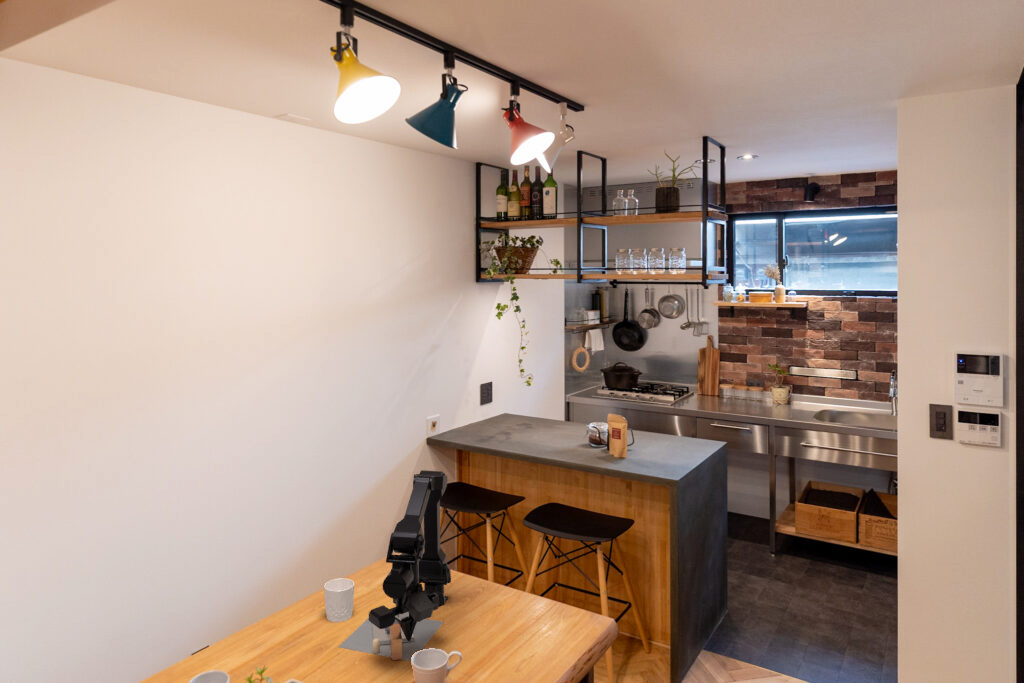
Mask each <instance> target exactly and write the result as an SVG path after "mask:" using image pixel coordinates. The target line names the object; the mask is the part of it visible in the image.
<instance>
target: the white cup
mask: <svg viewBox="0 0 1024 683" xmlns="http://www.w3.org/2000/svg"><path fill="white" fill-rule="evenodd" d="M323 590H324V605H325V606H324V607H325V614H326V615H325V616H326V619H327V620H328V622H333V623H343V622H346V621H348V620H350V619H351V618H352V617H353V609H354V599H355V598H354V597H355V596H354V595H355V581H354V580H352V579H350V578H345V577H344V578H343V577H341V578H334V579H333V578H332V579H331V580H327V582H325V584H324V586H323Z"/></svg>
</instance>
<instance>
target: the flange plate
mask: <svg viewBox="0 0 1024 683" xmlns="http://www.w3.org/2000/svg"><path fill="white" fill-rule="evenodd" d="M372 628H373V638H374V639H380V645H384V644H390V650H391V657H390V658H391V660H392V661H395V660H401V659H402V642H411V641H415V637H414V632H413V634H412V637H411V640H410V641H408V640H407V639H406V637H405V635H404V633H403V631H402V629H401V627H400V625H399V624H393V625H392V626H390V634H386V633H385V630H387V628H384V629H379V628H378V627H376V626H375V625H374V624H372Z"/></svg>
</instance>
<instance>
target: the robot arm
mask: <svg viewBox="0 0 1024 683" xmlns="http://www.w3.org/2000/svg"><path fill="white" fill-rule="evenodd" d="M412 479H413V481H412V490H411V493H410V497H409V500H408V504H407V506H406V510H405V513H404V516H403V518H402V519H401V520H399V521H398V522H397V523H396V524H395V527H394V530H393V532H392V533H391V534H390V538H389V543H388V547H387V552H386V554H387V555H386V558H385V563H388V564H391V568H390V571H389V573H388V574H387V575H386V576H385V578H384V579H383V582H382V590H383V592H384V595H386V596H387V597H388V598H390V599H392V603H393V604H394V605H395V606H394V607H391V608H389V607H387V606H385V605H384V604H383V605H380V606H377V607H375V608H372V609H370V611H369V612H368V618H369V621H370V622H371V623H372V624H374V625H375V626H376V627H378V628H379V629H384V628H387V627H389V626H392V625H393V624H394V622H395V620H397V621H398V623H399V625H400V627H401V629H402V631H403V633H404V635H405V637H406V639H407V640H408V641H410V640H411V637H412V634H413V631H414V628H415V626H416V623H417V622H420V621H422V620H424V619H430V618H432V616H433V612H434V611H436V610H438V609H439V608H440V607H442V606H445V605H446V602H447V601H448V599H449V596H447V595H445V586H448V584H451V582H452V571H451V569H450V565H449V563H447V554H446V553H445V552H444V550H443V549H442V547H441V499H442V497H443V495H444V494H445V491H446V489H447V487H448V476H447V475H446V473H444V471H442V470H441V471H440V470H427V469H426V470H425V469H424V470H423V469H422V470H420V472H419V473H416V474H413V478H412ZM422 524H423V529H422ZM393 553H396V554H393ZM423 586H424V587H423Z"/></svg>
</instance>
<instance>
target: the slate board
mask: <svg viewBox="0 0 1024 683" xmlns="http://www.w3.org/2000/svg"><path fill="white" fill-rule="evenodd" d="M444 622H445V621H441V620H435V619H430V618H426V619H424V620H422V621H420V622H417V623H416V626H415V628H414V631H413V632H414V637H415V641H411V642H402V659H400V660H402V661H408V662H411V657H412V655H413V654H414V653H415V652H417V651H419V650H421V649H424V648H425V647H426V645H427V644H428V642H430V640H431V639H432V638H433V636H434V635H435V634H436V632H437V631H439V629H440V628H441V627H442V625H443V624H444ZM394 624H399V623H398V621H397V620H395V622H394ZM385 633H386V634H390V626H389V627H387V630H385ZM338 648H341V649H345V650H350V651H357V652H361V653H364V654H365V653H366V654H372V655H377V656H380V657H387V658H391V650H390V644H384V645H380V639H374V638H373V628H372V623H371V622H370V621H369V617H368V618H367V619H366V620H365V621H364V622H362V623H361V624H360V625H359V626H358V627H357V628H356V629H355V630H354V631H353V632H352V633H351V634H350V635H349V636H348V637H347V638H346V639H345V640H344V641H342V643H340V644H339V645H338ZM421 651H422V650H421Z"/></svg>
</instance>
